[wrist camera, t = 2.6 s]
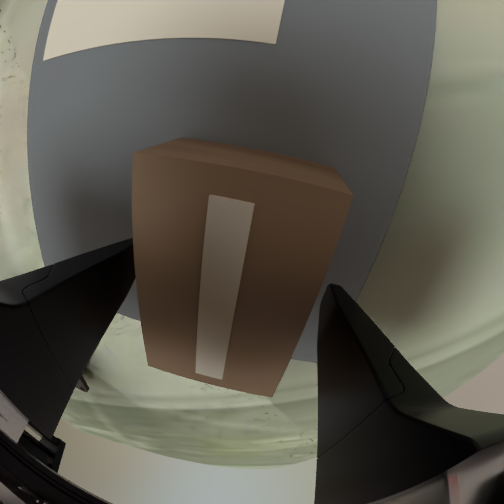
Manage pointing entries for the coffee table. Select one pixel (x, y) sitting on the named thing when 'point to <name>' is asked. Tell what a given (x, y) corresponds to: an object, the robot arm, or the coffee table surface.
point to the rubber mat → (225, 108)
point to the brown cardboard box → (230, 257)
